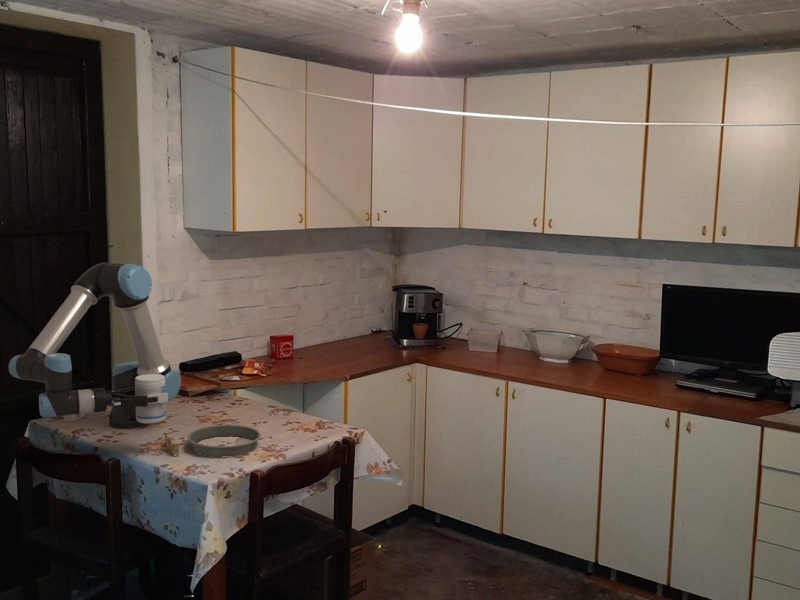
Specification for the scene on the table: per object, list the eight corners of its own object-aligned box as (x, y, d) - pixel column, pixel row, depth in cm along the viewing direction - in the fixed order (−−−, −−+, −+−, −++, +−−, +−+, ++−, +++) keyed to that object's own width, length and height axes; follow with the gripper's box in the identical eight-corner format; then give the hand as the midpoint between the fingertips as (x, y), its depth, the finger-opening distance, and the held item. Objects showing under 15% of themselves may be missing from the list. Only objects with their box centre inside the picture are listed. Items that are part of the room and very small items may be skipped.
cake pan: (227, 464, 250) (227, 451, 249) (172, 450, 262) (172, 437, 261) (275, 444, 271) (275, 432, 271) (222, 432, 283) (222, 420, 282)
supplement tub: (169, 421, 255) (169, 378, 253) (140, 426, 250) (139, 381, 248) (161, 414, 263) (160, 372, 261) (132, 418, 258) (131, 375, 256)
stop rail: (179, 456, 256) (178, 444, 255) (174, 456, 255) (174, 445, 255) (169, 443, 268) (169, 432, 267) (165, 444, 267) (164, 433, 267)
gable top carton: (63, 420, 291) (63, 394, 290) (78, 416, 297) (78, 391, 296) (70, 422, 289) (69, 396, 288) (85, 418, 295) (84, 392, 294)
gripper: (88, 403, 257) (157, 396, 268) (97, 421, 238) (171, 413, 248) (87, 381, 256) (157, 375, 267) (97, 397, 237) (171, 390, 247)
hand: (164, 393), depth 257 cm, fingers closed on supplement tub, 9 cm apart
